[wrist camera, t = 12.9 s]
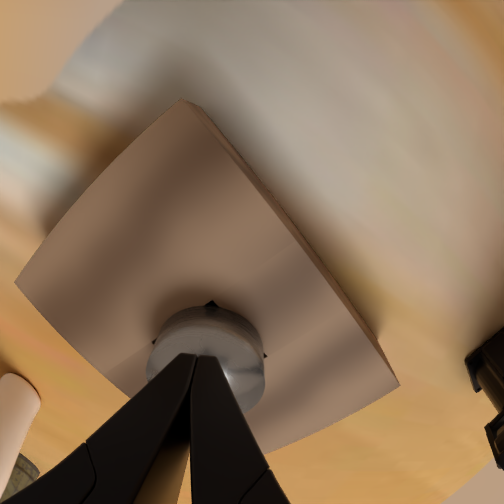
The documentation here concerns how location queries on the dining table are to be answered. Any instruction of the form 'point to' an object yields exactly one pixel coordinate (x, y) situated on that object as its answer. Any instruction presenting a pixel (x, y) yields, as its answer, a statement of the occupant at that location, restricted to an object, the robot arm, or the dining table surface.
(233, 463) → the robot arm
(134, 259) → the walnut beam
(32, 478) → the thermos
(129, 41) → the dining table surface
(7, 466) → the white cylindrical piece
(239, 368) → the steel pin
